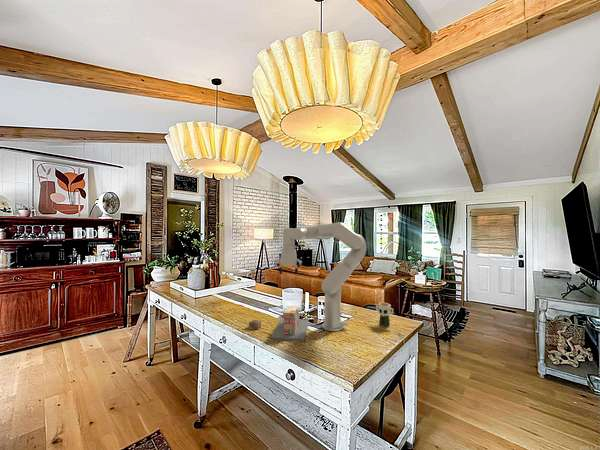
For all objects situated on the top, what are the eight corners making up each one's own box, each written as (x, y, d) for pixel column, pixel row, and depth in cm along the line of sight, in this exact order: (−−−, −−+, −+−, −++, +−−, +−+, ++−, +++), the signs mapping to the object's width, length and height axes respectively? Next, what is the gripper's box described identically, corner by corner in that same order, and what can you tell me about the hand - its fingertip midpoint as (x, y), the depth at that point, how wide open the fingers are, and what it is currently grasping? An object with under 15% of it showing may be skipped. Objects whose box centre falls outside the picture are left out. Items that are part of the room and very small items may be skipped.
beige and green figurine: (373, 324, 163) (373, 303, 163) (377, 321, 169) (377, 301, 169) (391, 329, 157) (391, 307, 157) (395, 325, 162) (395, 304, 163)
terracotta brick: (292, 315, 180) (292, 309, 180) (291, 317, 176) (291, 311, 176) (283, 315, 180) (283, 309, 180) (282, 317, 176) (282, 311, 176)
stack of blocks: (289, 320, 166) (289, 301, 166) (299, 321, 165) (299, 301, 165) (283, 334, 145) (283, 312, 145) (294, 335, 144) (294, 312, 144)
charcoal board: (308, 322, 167) (308, 320, 167) (304, 341, 139) (304, 338, 139) (280, 320, 169) (280, 318, 169) (271, 339, 141) (271, 337, 141)
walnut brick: (261, 327, 158) (261, 320, 158) (258, 329, 155) (258, 323, 155) (252, 326, 160) (252, 319, 160) (248, 328, 156) (248, 321, 156)
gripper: (302, 247, 171) (302, 273, 170) (276, 246, 173) (276, 272, 172) (301, 248, 163) (301, 275, 163) (274, 247, 165) (273, 274, 165)
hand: (288, 274), depth 168 cm, fingers open, 9 cm apart
